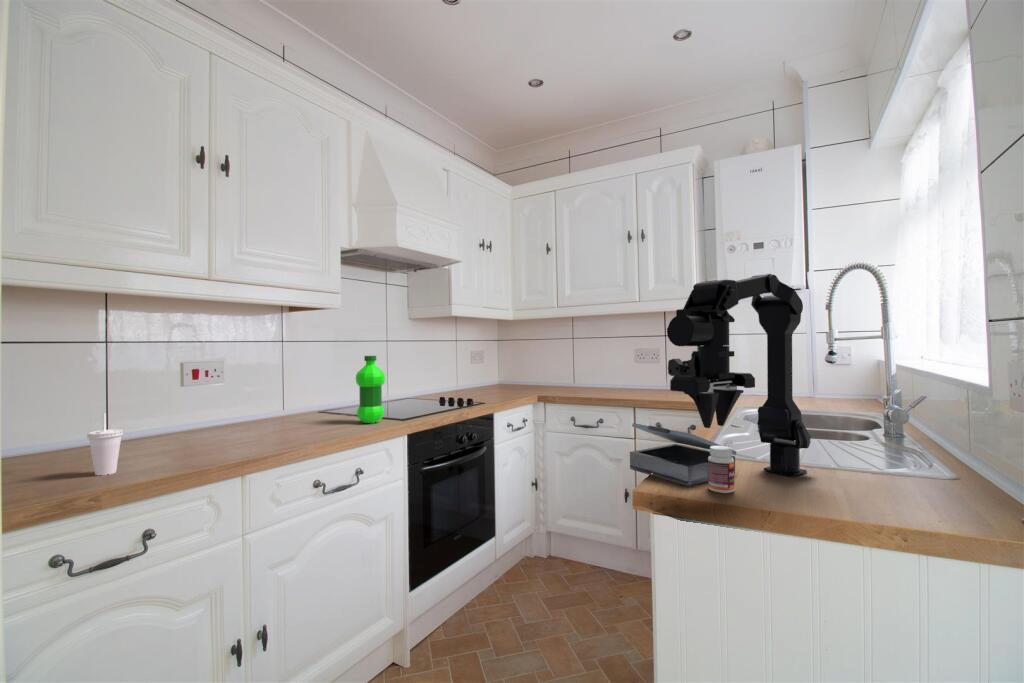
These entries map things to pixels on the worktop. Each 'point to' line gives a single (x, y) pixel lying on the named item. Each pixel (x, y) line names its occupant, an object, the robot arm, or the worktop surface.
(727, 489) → the pill bottle
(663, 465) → the grey lidded case
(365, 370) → the plastic bottle
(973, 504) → the worktop surface
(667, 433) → the lid
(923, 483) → the worktop surface
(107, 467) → the smoothie
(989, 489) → the worktop surface
